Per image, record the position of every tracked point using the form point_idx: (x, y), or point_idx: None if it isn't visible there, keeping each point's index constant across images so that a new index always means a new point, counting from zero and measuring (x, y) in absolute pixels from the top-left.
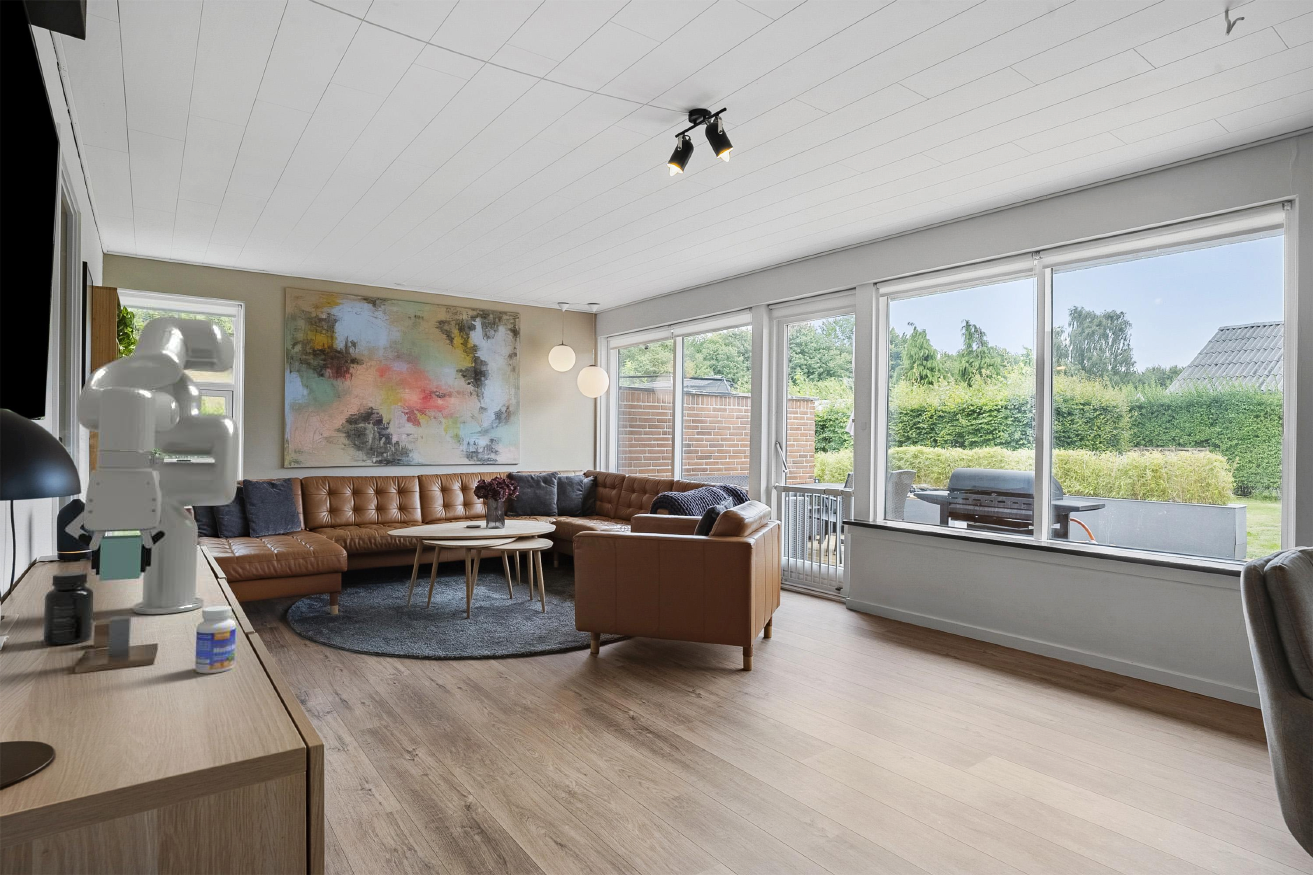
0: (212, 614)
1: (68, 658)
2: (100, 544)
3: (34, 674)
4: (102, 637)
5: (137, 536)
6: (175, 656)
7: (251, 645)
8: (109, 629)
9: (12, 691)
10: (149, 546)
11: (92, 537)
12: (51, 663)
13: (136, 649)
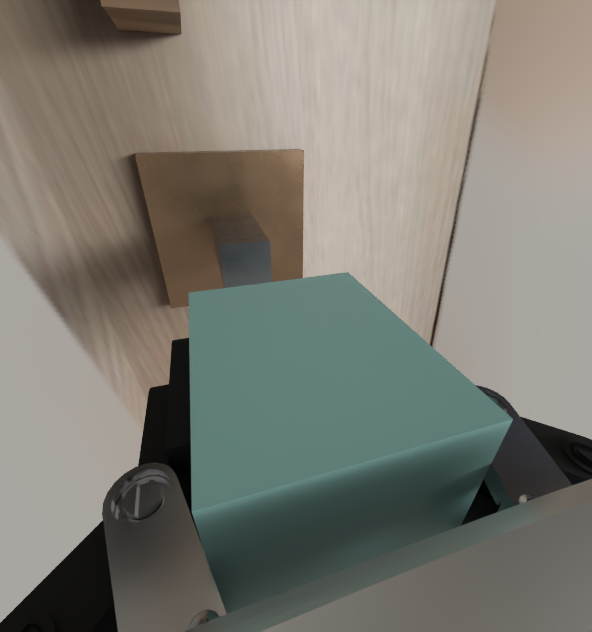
0: None
1: (96, 153)
2: (195, 527)
3: (85, 284)
4: (140, 22)
5: (444, 511)
6: (332, 238)
7: (457, 205)
8: (222, 280)
9: (105, 377)
10: None
11: (111, 612)
12: (73, 194)
13: (262, 200)
